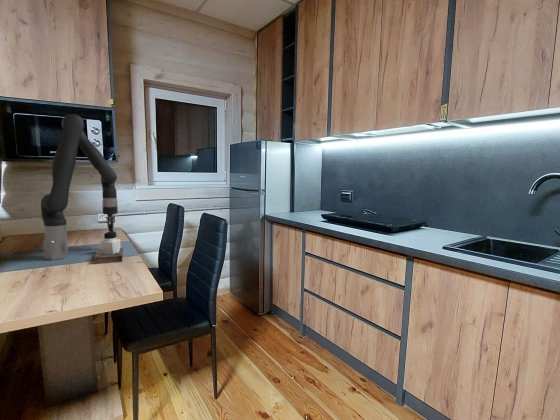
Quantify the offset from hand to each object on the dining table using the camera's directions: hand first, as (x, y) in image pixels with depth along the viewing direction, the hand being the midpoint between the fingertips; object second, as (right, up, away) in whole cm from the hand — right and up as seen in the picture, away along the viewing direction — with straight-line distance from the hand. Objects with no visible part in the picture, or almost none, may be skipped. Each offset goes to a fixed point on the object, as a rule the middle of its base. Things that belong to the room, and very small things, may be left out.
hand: (111, 235), depth 173 cm
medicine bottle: (+3, -10, -6) cm, 12 cm away
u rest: (+8, -11, -16) cm, 21 cm away
